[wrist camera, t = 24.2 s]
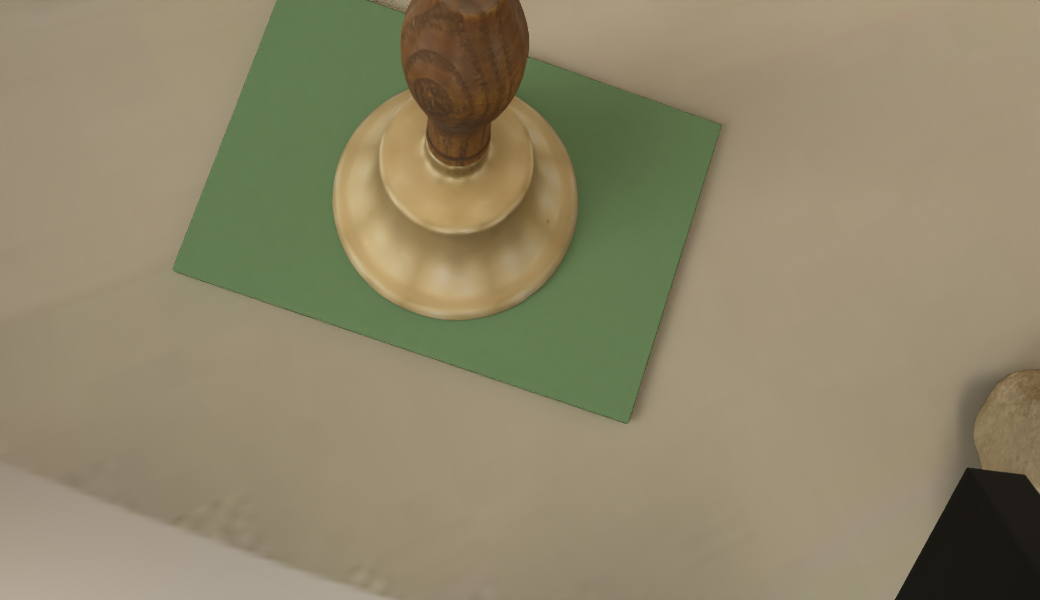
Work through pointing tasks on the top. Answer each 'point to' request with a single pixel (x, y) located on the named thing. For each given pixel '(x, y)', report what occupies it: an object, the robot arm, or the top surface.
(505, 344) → the cloth
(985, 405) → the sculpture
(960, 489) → the robot arm
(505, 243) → the hand bell
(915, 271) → the top surface
